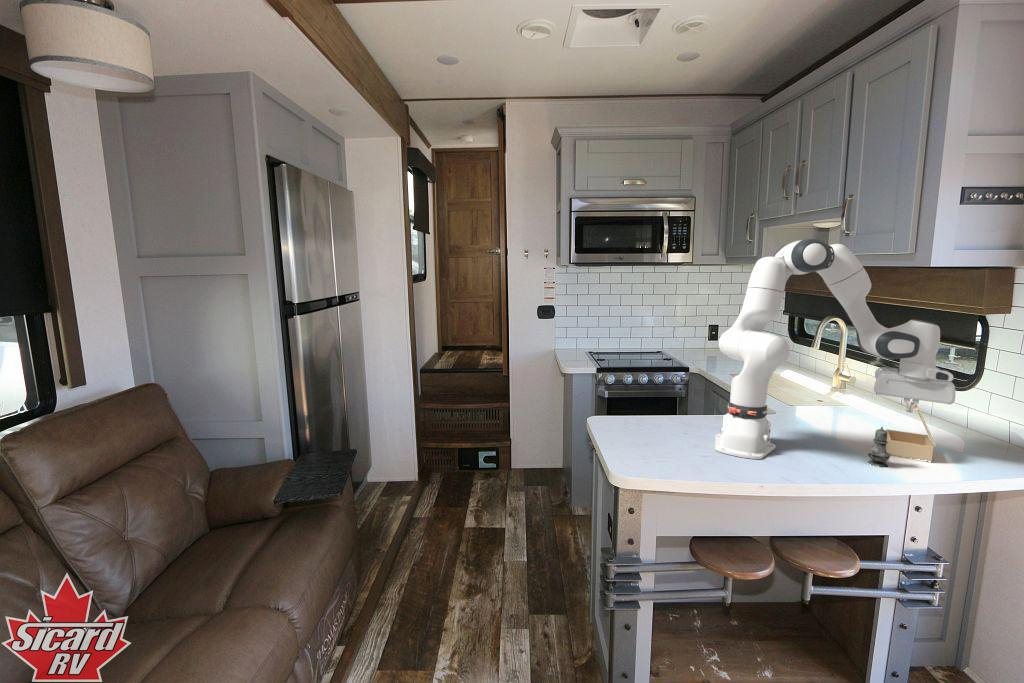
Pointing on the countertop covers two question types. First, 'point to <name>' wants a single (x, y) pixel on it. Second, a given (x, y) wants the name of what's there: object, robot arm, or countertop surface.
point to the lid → (923, 422)
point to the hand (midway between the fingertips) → (909, 412)
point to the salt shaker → (879, 449)
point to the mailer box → (909, 445)
